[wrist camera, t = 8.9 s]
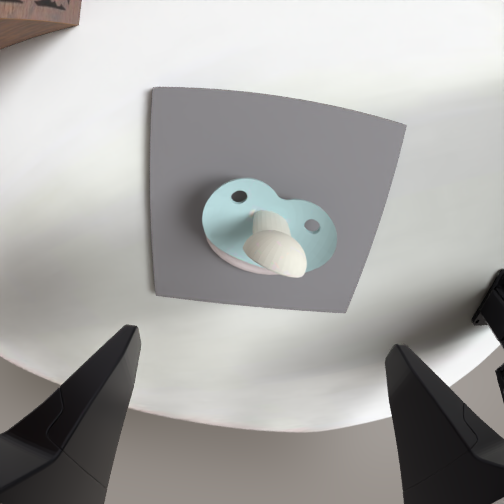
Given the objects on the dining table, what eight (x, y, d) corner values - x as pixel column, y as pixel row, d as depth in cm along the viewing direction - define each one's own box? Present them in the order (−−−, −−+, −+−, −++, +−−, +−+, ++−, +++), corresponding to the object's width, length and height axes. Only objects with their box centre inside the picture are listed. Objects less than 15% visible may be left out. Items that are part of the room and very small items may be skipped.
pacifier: (294, 280, 21) (340, 207, 18) (304, 355, 16) (372, 273, 12) (190, 244, 19) (222, 158, 16) (167, 316, 14) (205, 209, 11)
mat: (402, 123, 15) (406, 125, 15) (343, 307, 23) (345, 313, 22) (156, 86, 14) (152, 87, 14) (157, 290, 22) (155, 295, 21)
